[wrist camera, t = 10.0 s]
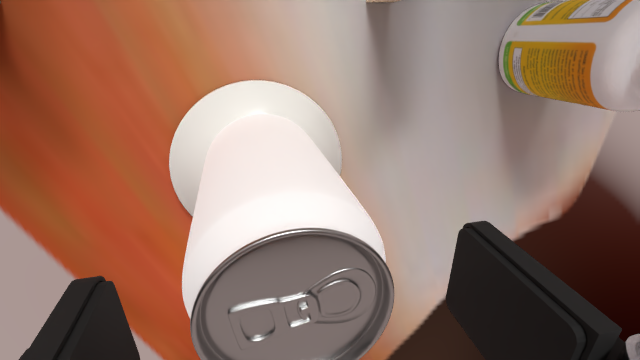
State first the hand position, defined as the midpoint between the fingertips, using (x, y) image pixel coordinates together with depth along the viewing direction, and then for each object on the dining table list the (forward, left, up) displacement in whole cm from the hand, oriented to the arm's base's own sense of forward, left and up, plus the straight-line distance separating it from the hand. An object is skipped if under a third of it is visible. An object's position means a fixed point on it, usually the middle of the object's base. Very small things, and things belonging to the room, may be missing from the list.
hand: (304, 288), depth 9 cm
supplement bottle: (-18, -5, -13) cm, 22 cm away
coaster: (0, +1, -12) cm, 12 cm away
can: (0, +1, -12) cm, 12 cm away
